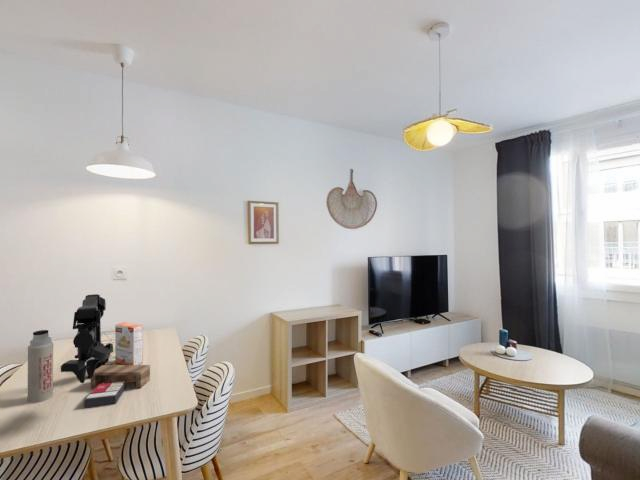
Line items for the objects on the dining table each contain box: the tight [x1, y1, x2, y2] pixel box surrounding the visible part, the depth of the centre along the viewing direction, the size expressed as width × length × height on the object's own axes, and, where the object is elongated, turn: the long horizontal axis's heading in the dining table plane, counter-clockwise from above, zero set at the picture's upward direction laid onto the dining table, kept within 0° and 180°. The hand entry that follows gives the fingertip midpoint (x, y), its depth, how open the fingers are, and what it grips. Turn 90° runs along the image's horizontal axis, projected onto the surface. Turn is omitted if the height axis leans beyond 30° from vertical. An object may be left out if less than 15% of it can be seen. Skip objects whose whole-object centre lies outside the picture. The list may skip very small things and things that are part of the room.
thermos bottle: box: [27, 329, 54, 404], centre depth 131 cm, size 8×8×28 cm
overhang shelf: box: [90, 364, 151, 390], centre depth 144 cm, size 22×8×7 cm, turn 92°
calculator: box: [83, 381, 127, 409], centre depth 133 cm, size 11×4×15 cm
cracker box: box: [114, 321, 144, 365], centre depth 168 cm, size 14×6×21 cm, turn 68°
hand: (86, 380), depth 122 cm, fingers open, 4 cm apart
